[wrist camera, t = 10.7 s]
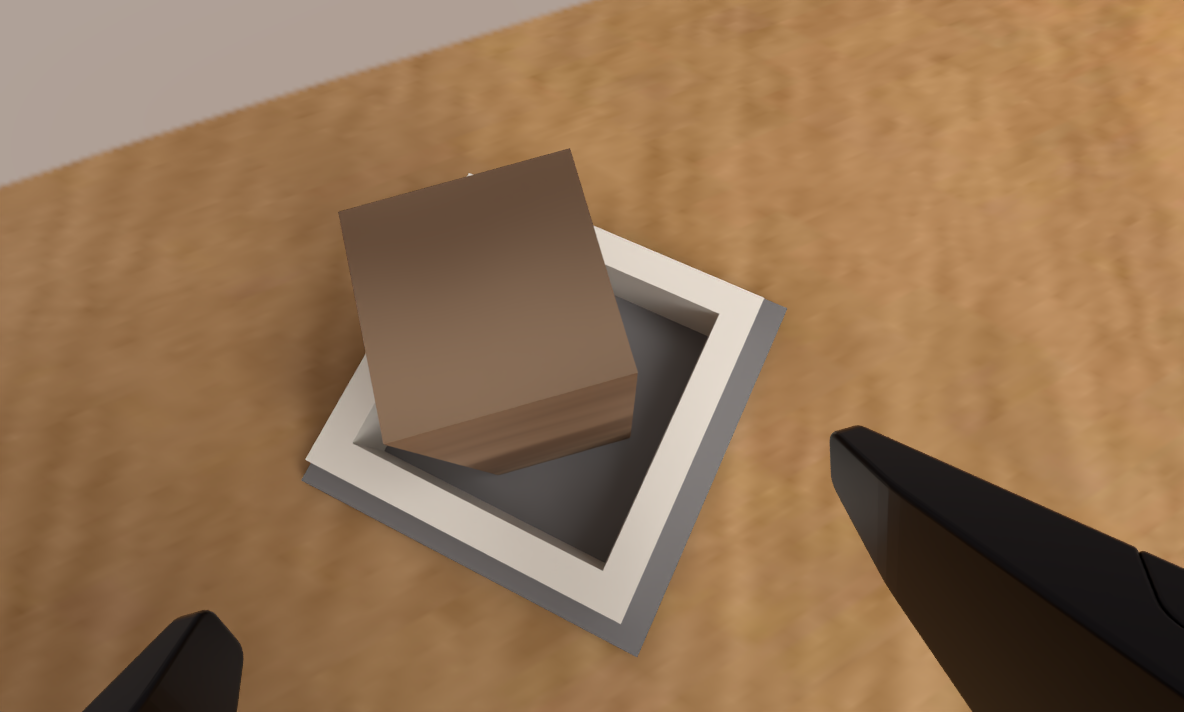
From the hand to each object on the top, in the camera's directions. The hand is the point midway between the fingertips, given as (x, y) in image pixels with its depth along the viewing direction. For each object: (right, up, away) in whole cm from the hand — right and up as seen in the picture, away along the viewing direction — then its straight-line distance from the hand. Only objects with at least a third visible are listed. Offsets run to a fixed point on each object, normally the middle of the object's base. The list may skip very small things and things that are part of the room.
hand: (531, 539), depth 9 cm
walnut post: (-1, +1, +12) cm, 12 cm away
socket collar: (-1, +1, +12) cm, 12 cm away
